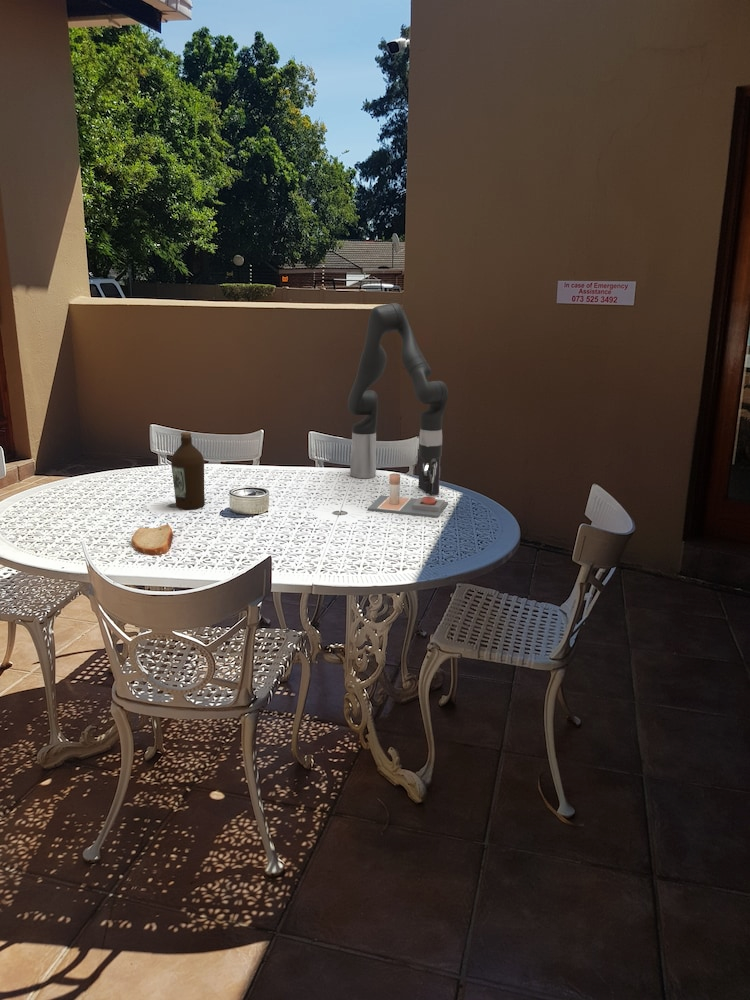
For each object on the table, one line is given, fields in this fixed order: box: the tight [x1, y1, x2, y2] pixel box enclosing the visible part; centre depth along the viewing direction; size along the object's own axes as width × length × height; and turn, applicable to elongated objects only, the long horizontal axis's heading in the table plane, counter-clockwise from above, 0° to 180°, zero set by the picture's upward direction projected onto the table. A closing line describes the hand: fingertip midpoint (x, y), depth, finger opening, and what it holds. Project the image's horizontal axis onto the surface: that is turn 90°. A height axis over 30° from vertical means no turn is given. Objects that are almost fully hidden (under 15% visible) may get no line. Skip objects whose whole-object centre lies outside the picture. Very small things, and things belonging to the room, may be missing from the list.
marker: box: [388, 473, 401, 505], centre depth 253 cm, size 4×4×10 cm
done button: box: [421, 496, 436, 505], centre depth 250 cm, size 4×4×2 cm
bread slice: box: [131, 524, 174, 556], centre depth 218 cm, size 18×18×4 cm
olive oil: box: [170, 431, 206, 511], centre depth 248 cm, size 11×11×25 cm
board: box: [367, 494, 449, 519], centre depth 253 cm, size 24×16×2 cm, turn 73°
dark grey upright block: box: [417, 448, 441, 496], centre depth 270 cm, size 11×4×15 cm, turn 22°
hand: (429, 493), depth 250 cm, fingers closed
